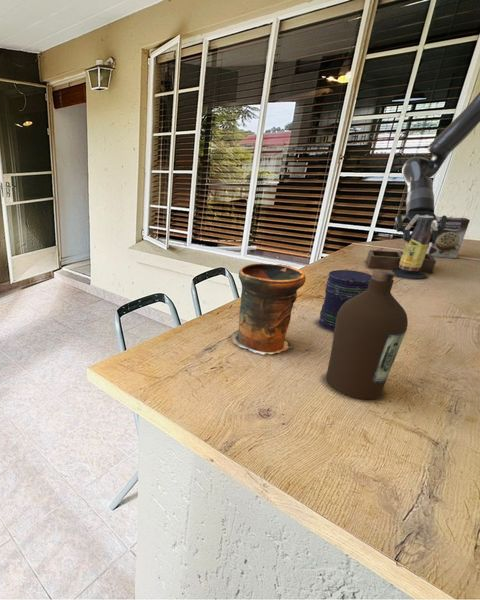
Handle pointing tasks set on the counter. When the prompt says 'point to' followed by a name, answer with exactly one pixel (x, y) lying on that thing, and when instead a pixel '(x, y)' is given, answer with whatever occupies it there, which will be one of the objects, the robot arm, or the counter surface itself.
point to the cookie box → (449, 238)
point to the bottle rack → (395, 261)
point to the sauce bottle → (417, 245)
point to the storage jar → (341, 294)
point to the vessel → (266, 306)
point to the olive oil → (367, 339)
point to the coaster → (409, 274)
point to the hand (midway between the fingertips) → (419, 240)
